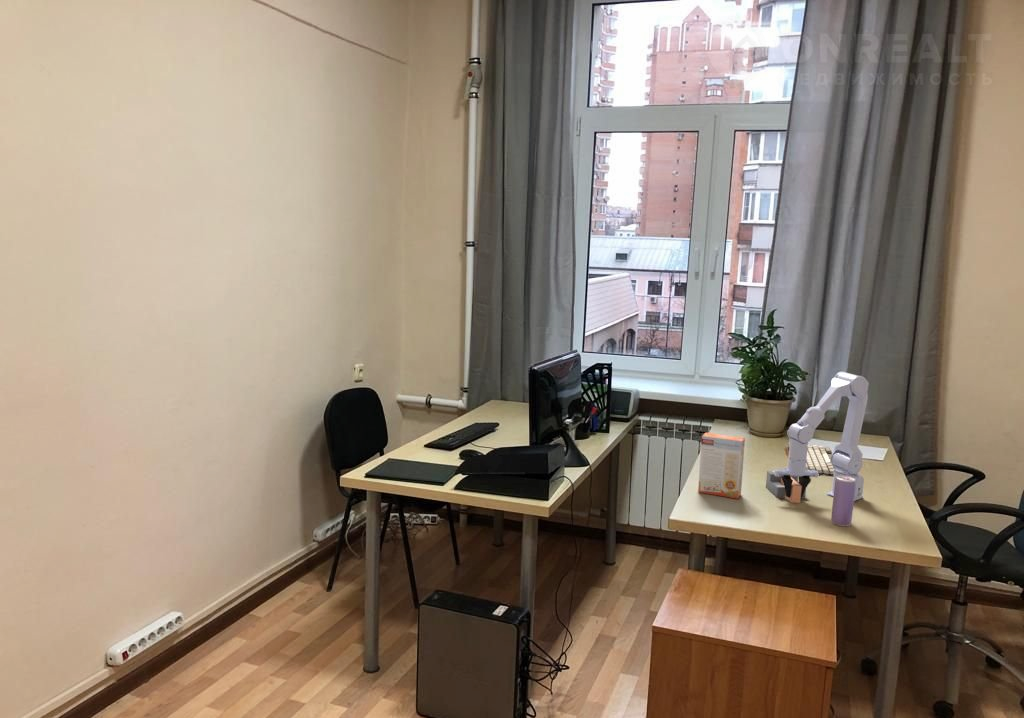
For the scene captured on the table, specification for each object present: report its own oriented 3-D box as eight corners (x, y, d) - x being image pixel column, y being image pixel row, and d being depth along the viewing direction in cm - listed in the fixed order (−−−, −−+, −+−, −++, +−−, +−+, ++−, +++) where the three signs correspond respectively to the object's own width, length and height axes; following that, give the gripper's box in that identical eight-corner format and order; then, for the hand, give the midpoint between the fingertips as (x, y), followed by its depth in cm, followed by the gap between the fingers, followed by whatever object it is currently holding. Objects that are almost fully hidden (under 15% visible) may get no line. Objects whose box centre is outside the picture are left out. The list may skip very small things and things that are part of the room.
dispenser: (765, 486, 272) (767, 470, 271) (793, 487, 272) (794, 470, 271) (776, 497, 261) (778, 480, 260) (805, 498, 262) (806, 480, 260)
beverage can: (849, 528, 235) (854, 482, 233) (829, 523, 238) (834, 478, 236) (852, 522, 240) (857, 477, 238) (832, 518, 243) (837, 473, 241)
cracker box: (741, 494, 263) (745, 437, 260) (738, 499, 258) (742, 441, 255) (701, 487, 270) (705, 431, 266) (697, 492, 264) (701, 435, 261)
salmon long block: (779, 491, 268) (781, 475, 267) (788, 491, 268) (789, 475, 267) (791, 502, 257) (792, 485, 256) (800, 502, 257) (801, 486, 256)
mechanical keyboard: (845, 479, 286) (845, 470, 285) (792, 474, 290) (792, 465, 290) (829, 452, 322) (830, 445, 321) (782, 448, 326) (783, 441, 326)
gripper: (813, 455, 261) (810, 492, 263) (772, 454, 260) (769, 491, 263) (822, 461, 254) (818, 499, 256) (779, 460, 253) (776, 499, 256)
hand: (793, 496), depth 259 cm, fingers open, 4 cm apart
